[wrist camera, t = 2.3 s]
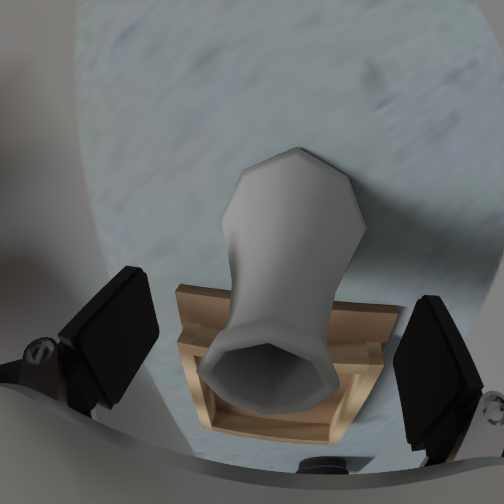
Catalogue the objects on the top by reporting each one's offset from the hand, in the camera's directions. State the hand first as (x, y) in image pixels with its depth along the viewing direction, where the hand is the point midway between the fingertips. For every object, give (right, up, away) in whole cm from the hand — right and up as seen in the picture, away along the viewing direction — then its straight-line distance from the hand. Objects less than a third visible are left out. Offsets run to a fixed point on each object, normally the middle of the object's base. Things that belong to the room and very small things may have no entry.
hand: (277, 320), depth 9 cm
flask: (+1, +4, +6) cm, 7 cm away
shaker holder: (+1, -8, +12) cm, 15 cm away
